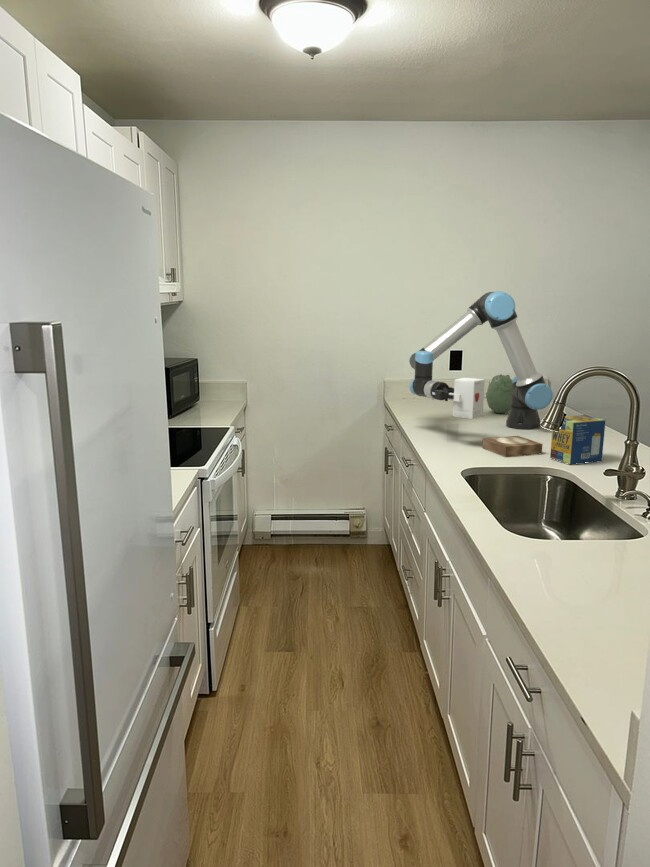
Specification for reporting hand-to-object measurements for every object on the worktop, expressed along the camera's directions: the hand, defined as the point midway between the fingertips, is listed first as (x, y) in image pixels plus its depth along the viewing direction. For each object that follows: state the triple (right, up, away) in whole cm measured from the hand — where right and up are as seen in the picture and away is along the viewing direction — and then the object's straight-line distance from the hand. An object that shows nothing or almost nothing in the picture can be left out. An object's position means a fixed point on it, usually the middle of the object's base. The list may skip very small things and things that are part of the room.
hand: (471, 397), depth 267 cm
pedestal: (+15, -21, -4) cm, 26 cm away
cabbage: (+32, -4, +81) cm, 87 cm away
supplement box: (-1, -8, +3) cm, 8 cm away
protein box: (+34, -24, -18) cm, 46 cm away
